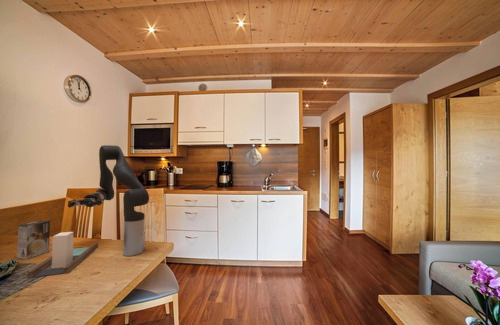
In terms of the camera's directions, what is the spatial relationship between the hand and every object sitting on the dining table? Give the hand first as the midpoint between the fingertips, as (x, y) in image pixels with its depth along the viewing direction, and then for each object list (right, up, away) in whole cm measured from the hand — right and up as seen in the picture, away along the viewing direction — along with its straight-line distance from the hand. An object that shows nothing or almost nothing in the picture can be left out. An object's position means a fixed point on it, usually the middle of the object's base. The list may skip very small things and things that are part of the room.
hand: (79, 205), depth 99 cm
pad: (-1, -25, 0) cm, 25 cm away
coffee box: (-21, -24, -3) cm, 32 cm away
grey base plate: (+4, -24, -13) cm, 28 cm away
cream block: (+3, -24, -12) cm, 28 cm away
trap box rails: (+2, -24, -8) cm, 26 cm away
